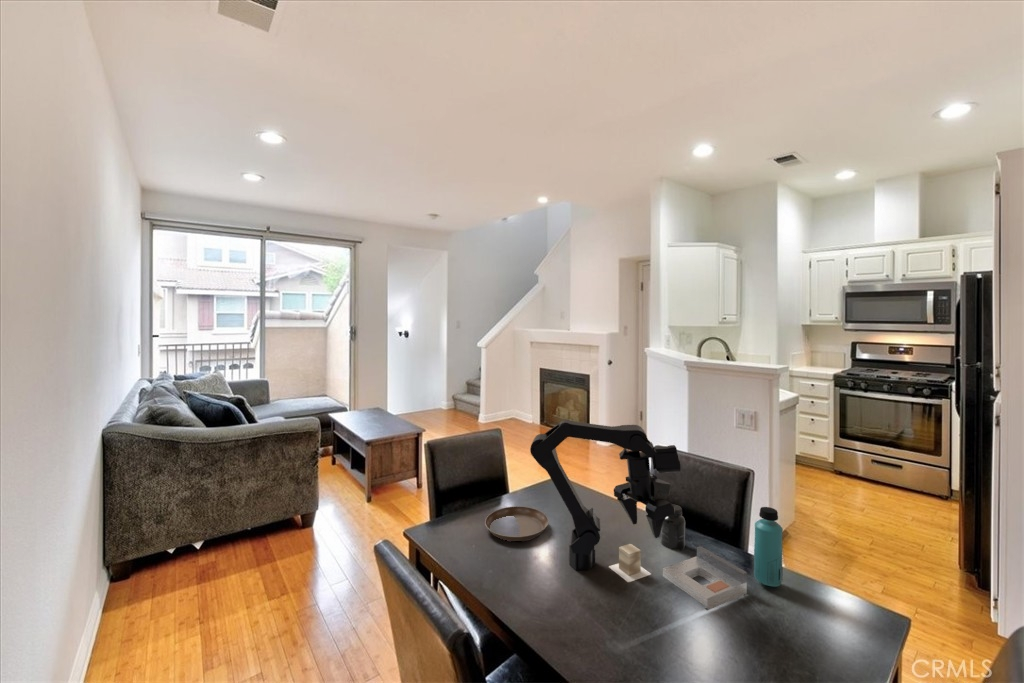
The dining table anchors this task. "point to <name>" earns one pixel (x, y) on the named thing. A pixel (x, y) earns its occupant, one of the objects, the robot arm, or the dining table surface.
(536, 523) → the plant saucer
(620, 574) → the white square tile
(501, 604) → the dining table surface
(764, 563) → the beverage bottle
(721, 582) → the plate
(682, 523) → the supplement bottle
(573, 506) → the robot arm
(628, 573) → the birch peg
